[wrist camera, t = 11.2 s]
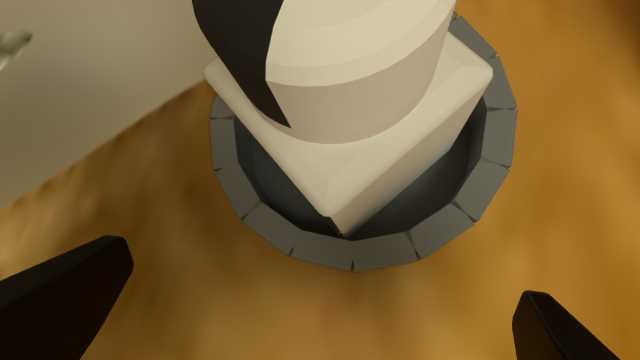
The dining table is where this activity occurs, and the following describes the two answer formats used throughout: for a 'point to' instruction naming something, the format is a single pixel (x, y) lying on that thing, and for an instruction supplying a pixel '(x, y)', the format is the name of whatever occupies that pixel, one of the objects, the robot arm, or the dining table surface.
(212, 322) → the dining table surface
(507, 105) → the round dish
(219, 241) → the dining table surface
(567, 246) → the dining table surface
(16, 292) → the robot arm
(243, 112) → the medicine bottle
